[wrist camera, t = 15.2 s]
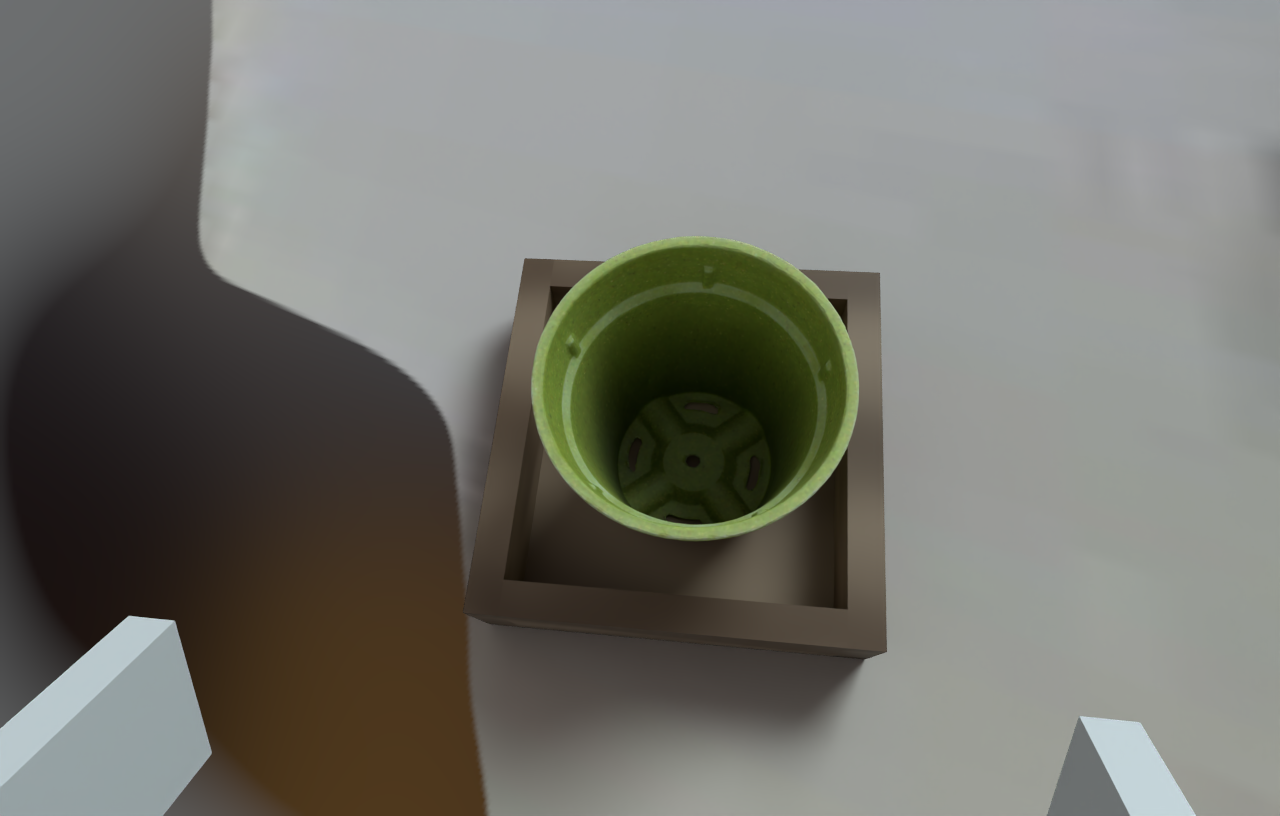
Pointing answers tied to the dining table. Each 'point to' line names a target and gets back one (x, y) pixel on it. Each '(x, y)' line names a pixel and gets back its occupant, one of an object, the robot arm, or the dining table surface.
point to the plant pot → (695, 387)
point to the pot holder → (684, 570)
